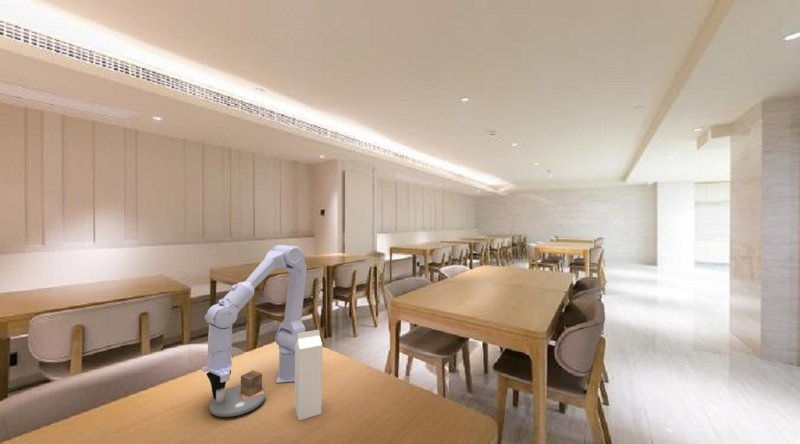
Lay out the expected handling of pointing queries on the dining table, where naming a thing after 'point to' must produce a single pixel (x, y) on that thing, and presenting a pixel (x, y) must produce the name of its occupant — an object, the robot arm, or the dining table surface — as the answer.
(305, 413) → the milk
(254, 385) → the walnut block
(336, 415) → the dining table surface
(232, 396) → the turntable
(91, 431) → the dining table surface
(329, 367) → the dining table surface
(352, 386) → the dining table surface
